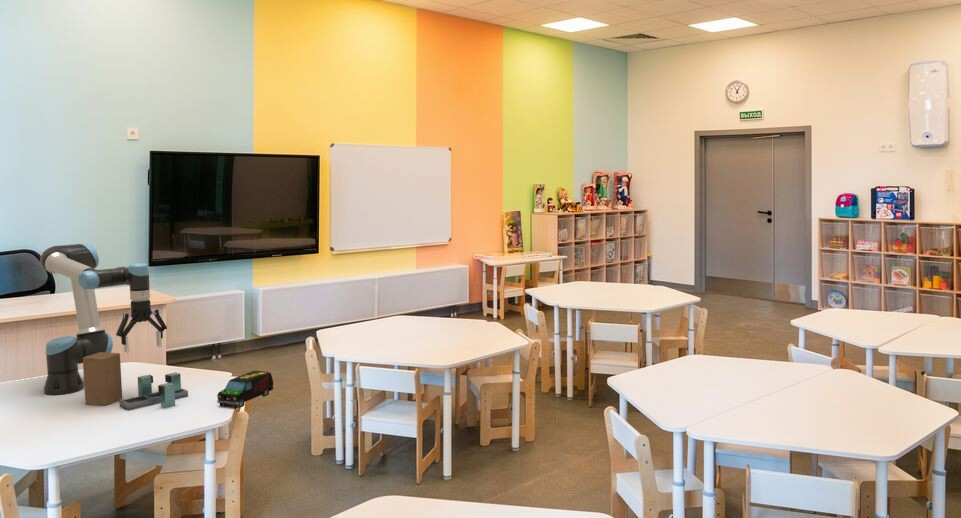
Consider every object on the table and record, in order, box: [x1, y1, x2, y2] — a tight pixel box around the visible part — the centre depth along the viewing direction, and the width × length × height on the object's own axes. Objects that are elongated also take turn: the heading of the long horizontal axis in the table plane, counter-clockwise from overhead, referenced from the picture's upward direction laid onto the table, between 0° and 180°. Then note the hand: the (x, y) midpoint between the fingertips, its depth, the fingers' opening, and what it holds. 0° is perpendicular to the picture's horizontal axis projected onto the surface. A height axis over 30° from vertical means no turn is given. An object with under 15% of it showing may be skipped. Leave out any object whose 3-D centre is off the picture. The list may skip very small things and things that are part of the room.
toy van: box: [216, 370, 275, 409], centre depth 292 cm, size 11×25×10 cm, turn 160°
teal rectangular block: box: [137, 374, 154, 397], centre depth 295 cm, size 4×5×9 cm
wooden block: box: [82, 352, 123, 406], centre depth 288 cm, size 10×10×20 cm
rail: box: [119, 372, 189, 411], centre depth 289 cm, size 8×25×10 cm, turn 140°
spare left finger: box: [157, 382, 176, 409], centre depth 283 cm, size 4×5×9 cm
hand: (143, 349), depth 293 cm, fingers open, 13 cm apart
